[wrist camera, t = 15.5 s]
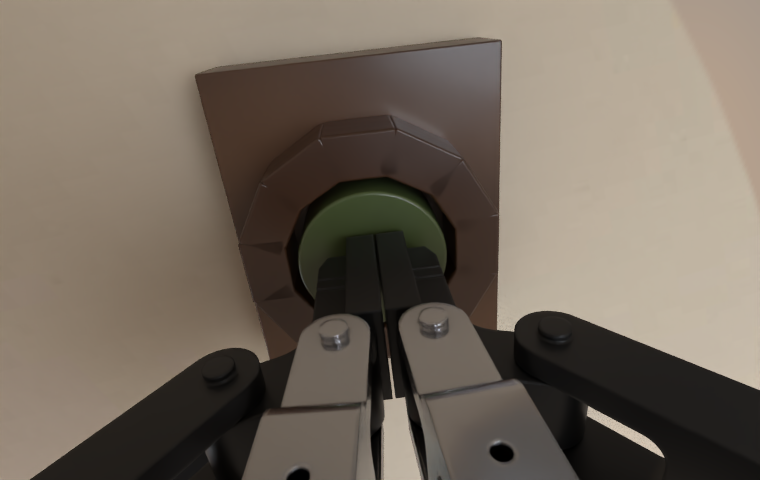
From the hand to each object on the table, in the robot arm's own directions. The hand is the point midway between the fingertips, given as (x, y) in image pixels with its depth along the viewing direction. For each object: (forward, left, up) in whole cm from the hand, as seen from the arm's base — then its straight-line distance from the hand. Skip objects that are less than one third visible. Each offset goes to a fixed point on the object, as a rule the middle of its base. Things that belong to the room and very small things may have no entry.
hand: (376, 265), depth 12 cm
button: (0, 0, -2) cm, 2 cm away
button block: (0, 0, -4) cm, 4 cm away
